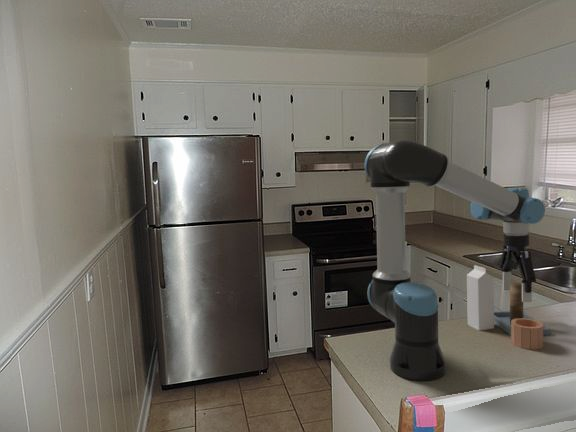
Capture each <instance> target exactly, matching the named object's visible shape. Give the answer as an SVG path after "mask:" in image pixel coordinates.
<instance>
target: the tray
mask: <svg viewBox="0 0 576 432" xmlns="http://www.w3.org/2000/svg"><path fill="white" fill-rule="evenodd" d="M523 318H527V319H533V320H536V319H535V318H533V317H532V316H530V315H529V314H527V313H526V312H524V311H523ZM494 324H496V325H497V326H499V328H500V329H502V330H503V331H504V332H506V333H507V335H509V336H510V337H511V325H510V310H504V311H502V310H499V311H494ZM550 335H551V329H550V328H548V326H545V325H544V324H543V336H550Z"/></svg>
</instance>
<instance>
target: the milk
mask: <svg viewBox="0 0 576 432" xmlns="http://www.w3.org/2000/svg"><path fill="white" fill-rule="evenodd" d="M494 281H495V280H494V276H493V275H491V274H489V273H487V269H486V268H485V267H482V266H479V265H477V264H475V265H473V269H472V270H471V271H470V272H469V273H467V274H466V300H467V301H466V307H467V309H466V310H467V311H466V313H467V325H468V326H470V327H471V328H472V329H475V330H478V331H485V330H486V331H487V330H491V329H494V328H495V322H494V312H495V310H494V309H495V308H494V307H495V306H494V305H495V301H494V300H495V299H494V297H495V294H494V293H495V292H494V287H495V285H494Z"/></svg>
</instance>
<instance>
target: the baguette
mask: <svg viewBox="0 0 576 432" xmlns="http://www.w3.org/2000/svg"><path fill="white" fill-rule="evenodd" d="M509 311H510V325H511V321H512V320H513V319H516V318H523V312H524V302H522V283H518V282H512V283H511V284H510V290H509Z"/></svg>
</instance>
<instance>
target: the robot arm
mask: <svg viewBox="0 0 576 432" xmlns="http://www.w3.org/2000/svg"><path fill="white" fill-rule="evenodd" d="M363 167H364V170H365V171H364V172H365V174H366V175H367V176H368V178H369V180H370V189H371V190H372V191H373V192H374V193H375V212H376V259H377V260H376V261H377V262H376V266H377V267H376V268H377V269H376V270H375V271H374V272H373V273H372V280H371V282H370V283H369V284H368V287H367V293H366V294H367V300H368V302H369V304H370V305H371V307H372V308H373V309H374V310H375V311H376V312H378V314H380V315H382V316H384V317H386V319H389V320H390V321H391V322H393V323H394V329H395V330H394V333H395V341H394V345H393V347H392V351H391V354H390V357H389V367H390V369H391V371H392V372H393V373H394V374H395V375H397V376H399V377H402V378H404V379H409V380H413V381H421V382H422V381H424V382H425V381H434V380H437V379H439V378H442V377H443V376H445V374H446V372H447V364H446V363H447V362H446V360H445V357H444V354H443V352H442V349H441V346H440V343H439V302H438V294H437V293H436V291H435V290H434V289H433V288H432V287H431V286H429V285H427V284H424V283H419V282H412V275H411V273H410V272H408V271H407V269H406V266H407V265H406V264H407V263H406V209H405V208H406V207H405V205H406V203H405V202H406V201H405V200H406V199H405V195H406V193H405V192H407V190H408V189H410V182H412V183H418V184H421V185H424V186H427V187H429V188H432V187H435V186H436V187H437V188H440V189H442V190H445V191H447V192H449V193H452V194H454V195H456V196H458V197H460V198H462V199H464V200H466V201H469V202H471V203H470V213H471V216H472V217H473V218H474V219H475V220H478V221H486V220H495V221H502V225H503V226H502V228H503V230H502V231H503V233H504V234H503V247H502V253H501V258H500V262H499V266H498V267H499V269H501V272H502V291H510V284H511V283H513V281H512V273H513V272H512V271H513V270H512V268H513V265H514V264H516V265H517V268H518V270H519V273H520V275H521V278H522V280H521V282H520V284H522V302H523V303H532V299H533V298H532V296H533V294H532V293H533V291H532V289H533V288H532V285H533V284H532V283H536V282H537V278H536V273H535V270H534V266H533V261H532V255H531V254H532V253H531V251H529V250H528V251H526V250H525V248H526V247H528V246H529V245H530V235H529V233H530V225H534V224H538V223H540V222H541V221H542V220H543V218H544V216H545V215H546V207H545V204H544V202H543V201H542V200H541V199H539V198H535V197H531V196H530V194H529V193H530V191H529V189H528V188H525V187H507V188H506V187H504V186H501V185H500V184H498V183H495V182H494V181H491V180H489V179H487V178H485V177H482V176H481V175H479V174H477V173H476V172H475V173H474V172H473V171H471V170H468V169H466V168H463V166H460V165H459V164H456V163H454V162H451V161H450V160H449V158H448V156H447V155H446V154H444V153H442V152H439V151H437V150H436V149H433V148H431V147H429V146H427V145H424V144H422V143H419V142H417V141H414V140H408V139H401V140H398V141H391V142H390V141H389V142H385V143H381V144H378V145H376V146H374V147H373V148H371V149H370V150H369V152H368V153H367V154H366V157H365V160H364V165H363Z"/></svg>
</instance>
